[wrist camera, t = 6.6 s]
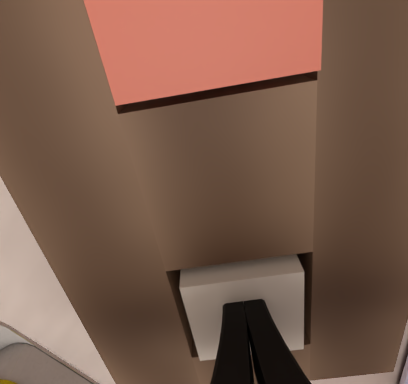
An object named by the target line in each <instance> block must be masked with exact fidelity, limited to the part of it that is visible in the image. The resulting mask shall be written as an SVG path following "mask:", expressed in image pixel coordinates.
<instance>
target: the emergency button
mask: <svg viewBox="0 0 408 384" xmlns="http://www.w3.org/2000/svg"><path fill="white" fill-rule="evenodd" d="M0 384H99V383H97V382H96V381H94V380H92V379H91V378H89V377H88V376H86V375H85V374H83V373H82V372H80V371H79V370H77V369H76V368H74V367H72V366H71V365H69V364H68V363H66V362H65V361H63V360H62V359H60V358H59V357H57V356H56V355H54V354H52V353H51V352H49V351H48V350H46V349H45V348H43V347H42V346H40V345H39V344H37V343H35V342H34V341H32V340H31V339H29V338H28V337H26V336H25V335H23V334H22V333H20V332H19V331H17V330H15V329H14V328H12V327H11V326H9V325H7V324H5V323H3V322H0Z"/></svg>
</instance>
